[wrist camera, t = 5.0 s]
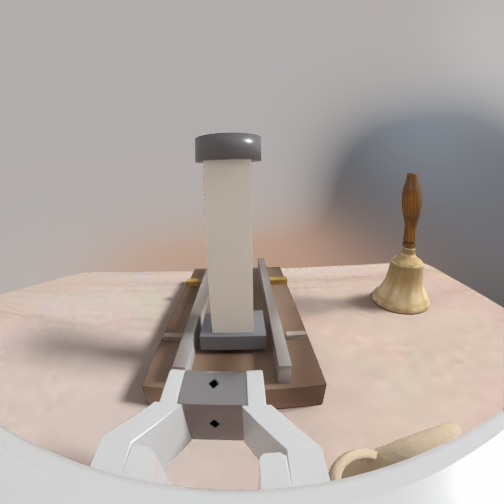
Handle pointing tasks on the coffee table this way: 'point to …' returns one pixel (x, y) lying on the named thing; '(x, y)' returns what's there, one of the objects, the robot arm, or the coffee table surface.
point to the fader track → (268, 360)
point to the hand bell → (405, 262)
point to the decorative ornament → (391, 452)
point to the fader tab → (229, 241)
